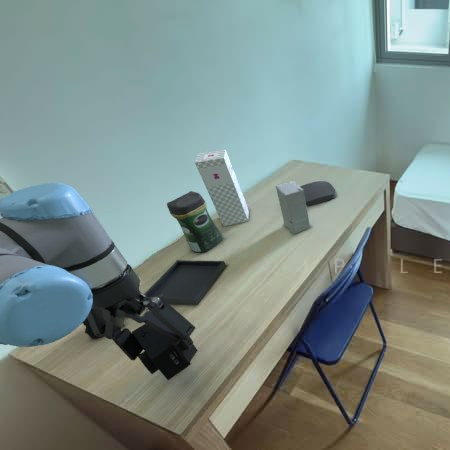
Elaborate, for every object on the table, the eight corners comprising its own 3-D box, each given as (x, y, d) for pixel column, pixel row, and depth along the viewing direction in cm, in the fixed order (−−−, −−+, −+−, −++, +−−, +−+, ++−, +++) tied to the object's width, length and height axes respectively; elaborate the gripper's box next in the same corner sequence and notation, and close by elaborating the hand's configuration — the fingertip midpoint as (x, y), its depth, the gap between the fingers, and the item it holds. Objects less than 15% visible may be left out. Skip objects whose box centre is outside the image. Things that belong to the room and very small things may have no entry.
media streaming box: (303, 208, 120) (302, 201, 119) (294, 193, 131) (292, 186, 129) (338, 197, 126) (337, 191, 124) (327, 184, 137) (326, 178, 135)
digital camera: (141, 356, 64) (123, 335, 60) (170, 337, 67) (154, 317, 63) (161, 385, 59) (143, 365, 55) (191, 364, 62) (176, 343, 58)
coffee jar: (211, 233, 109) (188, 187, 98) (227, 238, 106) (205, 191, 95) (186, 250, 102) (158, 201, 91) (202, 255, 99) (176, 206, 88)
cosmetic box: (284, 225, 112) (272, 186, 102) (302, 217, 115) (292, 179, 106) (294, 235, 106) (282, 195, 97) (313, 226, 110) (303, 187, 101)
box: (225, 214, 119) (198, 153, 104) (248, 209, 121) (225, 149, 107) (223, 226, 112) (194, 162, 98) (248, 220, 115) (223, 157, 100)
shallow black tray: (197, 305, 82) (193, 299, 81) (143, 303, 83) (139, 298, 82) (226, 266, 94) (224, 260, 93) (180, 265, 96) (177, 260, 94)
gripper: (184, 261, 52) (229, 341, 64) (57, 259, 53) (125, 337, 66) (152, 295, 46) (208, 376, 58) (10, 291, 47) (95, 370, 60)
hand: (164, 355), depth 62 cm, fingers closed on digital camera, 11 cm apart
